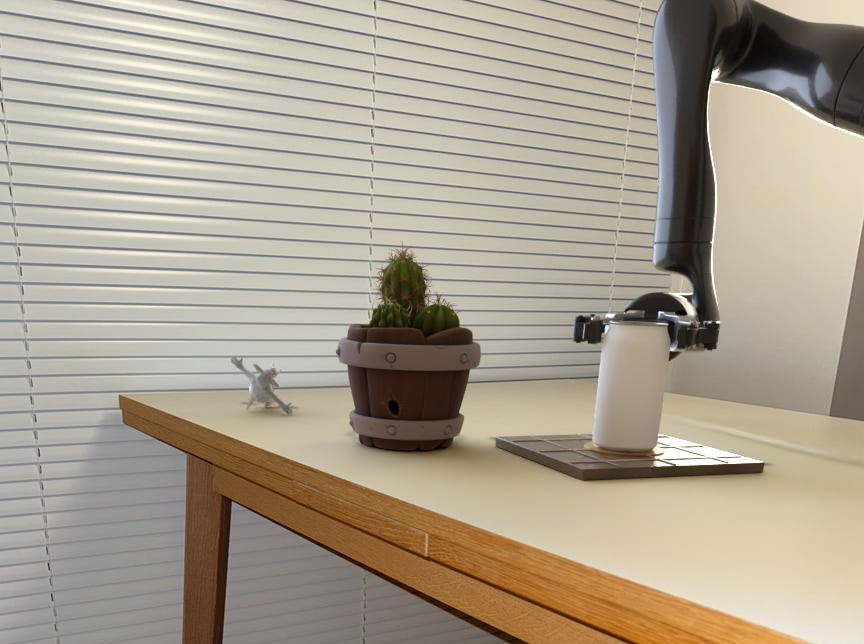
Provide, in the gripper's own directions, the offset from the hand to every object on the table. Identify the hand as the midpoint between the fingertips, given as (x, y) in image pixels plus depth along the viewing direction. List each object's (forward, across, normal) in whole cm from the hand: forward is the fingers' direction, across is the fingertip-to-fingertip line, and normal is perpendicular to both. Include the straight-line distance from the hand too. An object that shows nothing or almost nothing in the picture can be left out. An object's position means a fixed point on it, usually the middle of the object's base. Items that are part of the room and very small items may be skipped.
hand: (636, 334), depth 92 cm
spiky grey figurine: (-10, -47, +12) cm, 50 cm away
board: (-1, 0, +12) cm, 12 cm away
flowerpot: (+2, -22, +12) cm, 25 cm away
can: (-2, 0, +11) cm, 11 cm away
